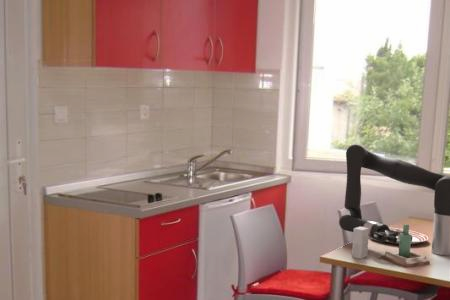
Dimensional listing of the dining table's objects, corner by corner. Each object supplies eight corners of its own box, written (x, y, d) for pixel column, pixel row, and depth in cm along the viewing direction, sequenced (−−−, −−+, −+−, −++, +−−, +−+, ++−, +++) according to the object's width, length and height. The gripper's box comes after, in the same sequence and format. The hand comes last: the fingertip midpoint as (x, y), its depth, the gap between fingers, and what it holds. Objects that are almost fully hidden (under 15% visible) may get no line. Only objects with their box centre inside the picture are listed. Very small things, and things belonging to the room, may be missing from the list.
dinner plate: (420, 235, 294) (420, 228, 294) (434, 249, 267) (435, 242, 266) (363, 231, 296) (364, 225, 296) (372, 245, 269) (372, 237, 269)
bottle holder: (403, 255, 252) (404, 248, 252) (429, 264, 240) (430, 256, 240) (378, 258, 246) (379, 251, 245) (404, 267, 233) (404, 259, 233)
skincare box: (358, 254, 251) (359, 226, 250) (367, 256, 248) (369, 227, 247) (351, 256, 246) (353, 228, 245) (360, 258, 243) (362, 230, 242)
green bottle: (403, 256, 246) (406, 223, 245) (411, 259, 242) (414, 225, 241) (395, 257, 244) (398, 223, 243) (403, 260, 240) (406, 226, 239)
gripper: (364, 223, 253) (391, 231, 239) (388, 221, 260) (417, 229, 246) (362, 240, 254) (390, 250, 240) (387, 238, 261) (416, 247, 246)
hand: (404, 239), depth 243 cm, fingers open, 8 cm apart
